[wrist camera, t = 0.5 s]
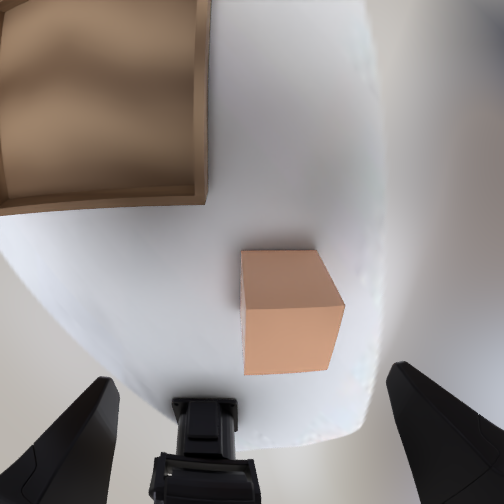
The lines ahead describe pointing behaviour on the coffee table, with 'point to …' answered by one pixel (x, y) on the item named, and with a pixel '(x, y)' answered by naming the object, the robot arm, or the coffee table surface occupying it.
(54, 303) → the coffee table surface
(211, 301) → the coffee table surface
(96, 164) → the walnut tray
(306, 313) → the terracotta block
